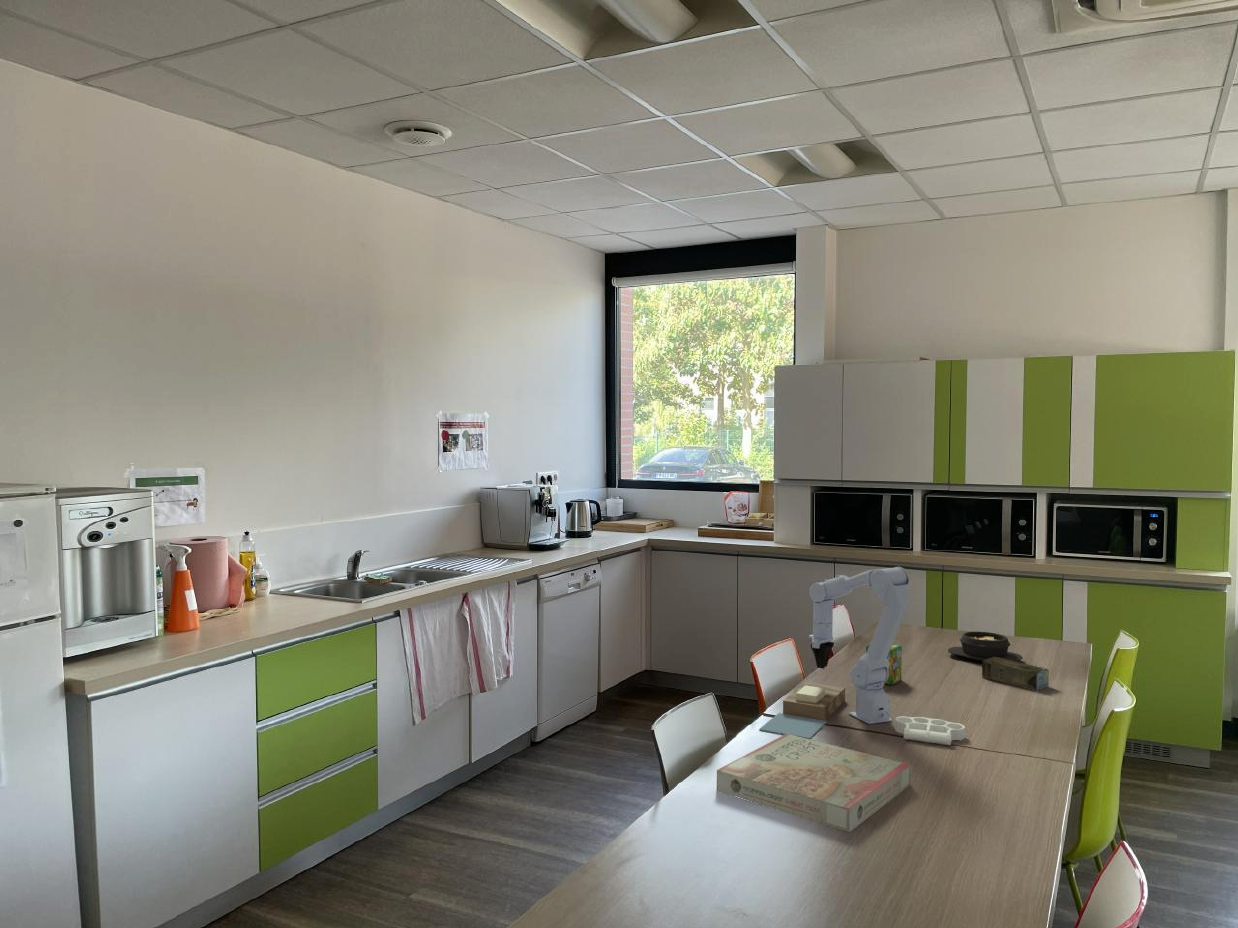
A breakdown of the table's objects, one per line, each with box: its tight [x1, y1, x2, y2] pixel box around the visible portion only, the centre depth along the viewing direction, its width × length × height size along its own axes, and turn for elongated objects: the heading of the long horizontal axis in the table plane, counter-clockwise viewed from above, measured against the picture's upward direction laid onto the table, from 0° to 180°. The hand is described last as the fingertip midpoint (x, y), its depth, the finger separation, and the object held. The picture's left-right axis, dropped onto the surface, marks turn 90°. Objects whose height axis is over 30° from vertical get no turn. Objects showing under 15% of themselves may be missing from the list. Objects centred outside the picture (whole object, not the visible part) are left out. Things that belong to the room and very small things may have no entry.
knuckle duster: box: [894, 715, 966, 747], centre depth 242 cm, size 3×18×15 cm
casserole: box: [947, 631, 1024, 663], centre depth 323 cm, size 25×19×8 cm
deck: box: [782, 681, 846, 721], centre depth 265 cm, size 22×12×4 cm, turn 151°
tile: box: [796, 685, 825, 703], centre depth 262 cm, size 9×6×2 cm, turn 151°
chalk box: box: [865, 644, 903, 686], centre depth 294 cm, size 9×9×15 cm
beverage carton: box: [981, 657, 1050, 691], centre depth 294 cm, size 8×19×7 cm, turn 38°
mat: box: [758, 712, 828, 740], centre depth 248 cm, size 16×14×1 cm
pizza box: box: [716, 734, 911, 833], centre depth 206 cm, size 32×5×32 cm
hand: (822, 666), depth 271 cm, fingers closed
